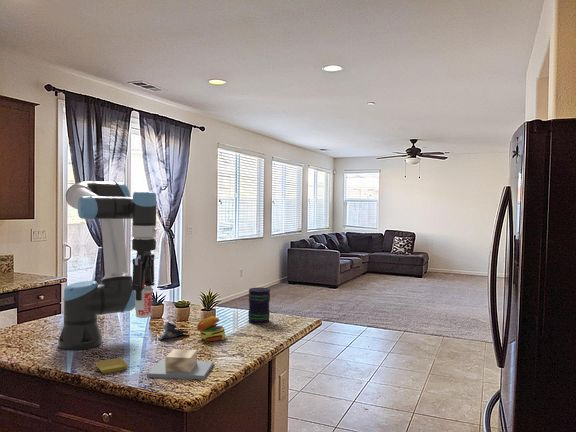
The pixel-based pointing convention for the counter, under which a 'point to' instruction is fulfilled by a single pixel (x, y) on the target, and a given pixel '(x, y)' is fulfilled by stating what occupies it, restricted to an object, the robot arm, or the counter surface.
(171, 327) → the dark grey crumpled piece
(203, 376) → the board
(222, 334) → the cheeseburger
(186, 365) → the block
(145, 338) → the counter surface
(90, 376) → the counter surface
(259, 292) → the storage jar
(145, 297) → the beverage cup
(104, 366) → the yellow square slab
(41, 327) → the counter surface
